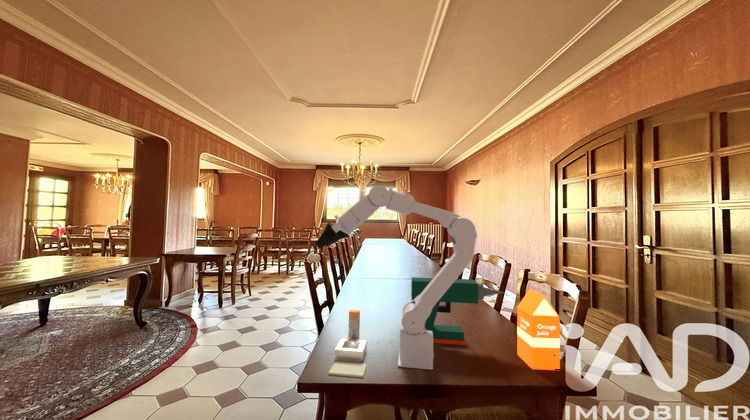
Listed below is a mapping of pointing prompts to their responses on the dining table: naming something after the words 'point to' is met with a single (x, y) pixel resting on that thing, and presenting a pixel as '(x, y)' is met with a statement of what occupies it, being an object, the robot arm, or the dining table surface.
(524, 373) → the dining table surface
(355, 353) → the block
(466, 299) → the power tool
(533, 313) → the orange juice
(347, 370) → the key mat
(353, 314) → the orange capped bottle
